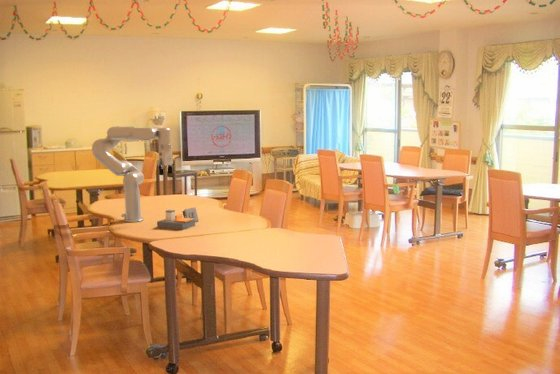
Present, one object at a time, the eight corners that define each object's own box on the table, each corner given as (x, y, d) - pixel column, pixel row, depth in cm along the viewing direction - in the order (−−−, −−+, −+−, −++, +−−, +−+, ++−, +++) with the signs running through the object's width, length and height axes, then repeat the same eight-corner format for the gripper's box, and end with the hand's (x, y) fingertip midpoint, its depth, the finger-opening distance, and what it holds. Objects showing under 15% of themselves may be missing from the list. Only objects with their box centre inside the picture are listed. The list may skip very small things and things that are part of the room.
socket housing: (157, 227, 369) (157, 221, 368) (170, 223, 381) (170, 217, 381) (182, 230, 361) (182, 223, 361) (195, 225, 374) (194, 219, 374)
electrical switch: (188, 224, 381) (186, 209, 380) (182, 223, 384) (181, 209, 383) (199, 221, 388) (197, 207, 387) (193, 221, 391) (192, 207, 391)
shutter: (173, 221, 366) (173, 216, 366) (182, 218, 374) (181, 213, 374) (185, 222, 363) (184, 217, 363) (193, 219, 371) (193, 214, 371)
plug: (166, 226, 372) (165, 210, 371) (169, 225, 376) (169, 209, 374) (171, 227, 370) (171, 211, 369) (175, 226, 374) (174, 210, 373)
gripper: (161, 148, 375) (162, 175, 377) (177, 146, 391) (178, 173, 393) (151, 148, 378) (152, 175, 380) (167, 146, 394) (168, 172, 396)
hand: (165, 174), depth 387 cm, fingers open, 9 cm apart
